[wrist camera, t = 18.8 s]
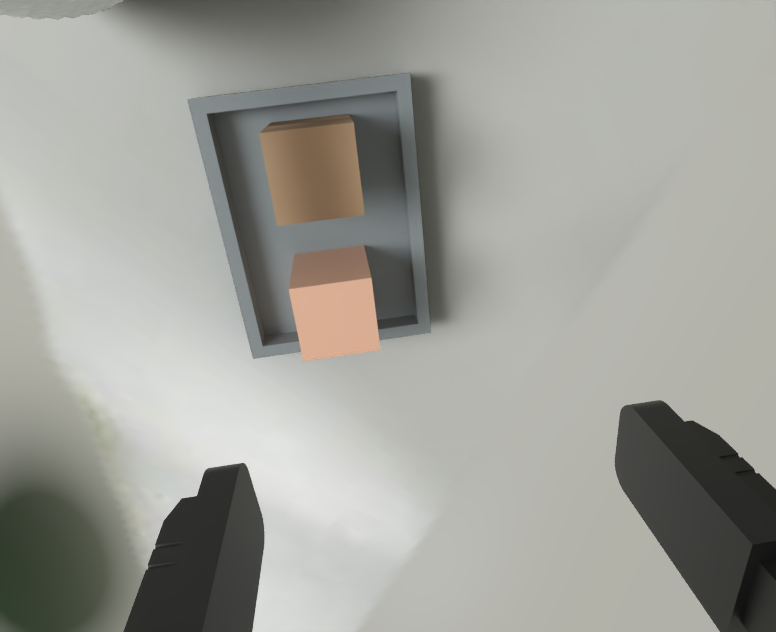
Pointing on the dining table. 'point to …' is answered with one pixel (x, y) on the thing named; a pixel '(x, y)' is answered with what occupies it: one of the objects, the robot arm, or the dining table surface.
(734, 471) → the robot arm
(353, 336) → the block
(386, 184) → the tray
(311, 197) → the block
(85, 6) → the mug
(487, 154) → the dining table surface
